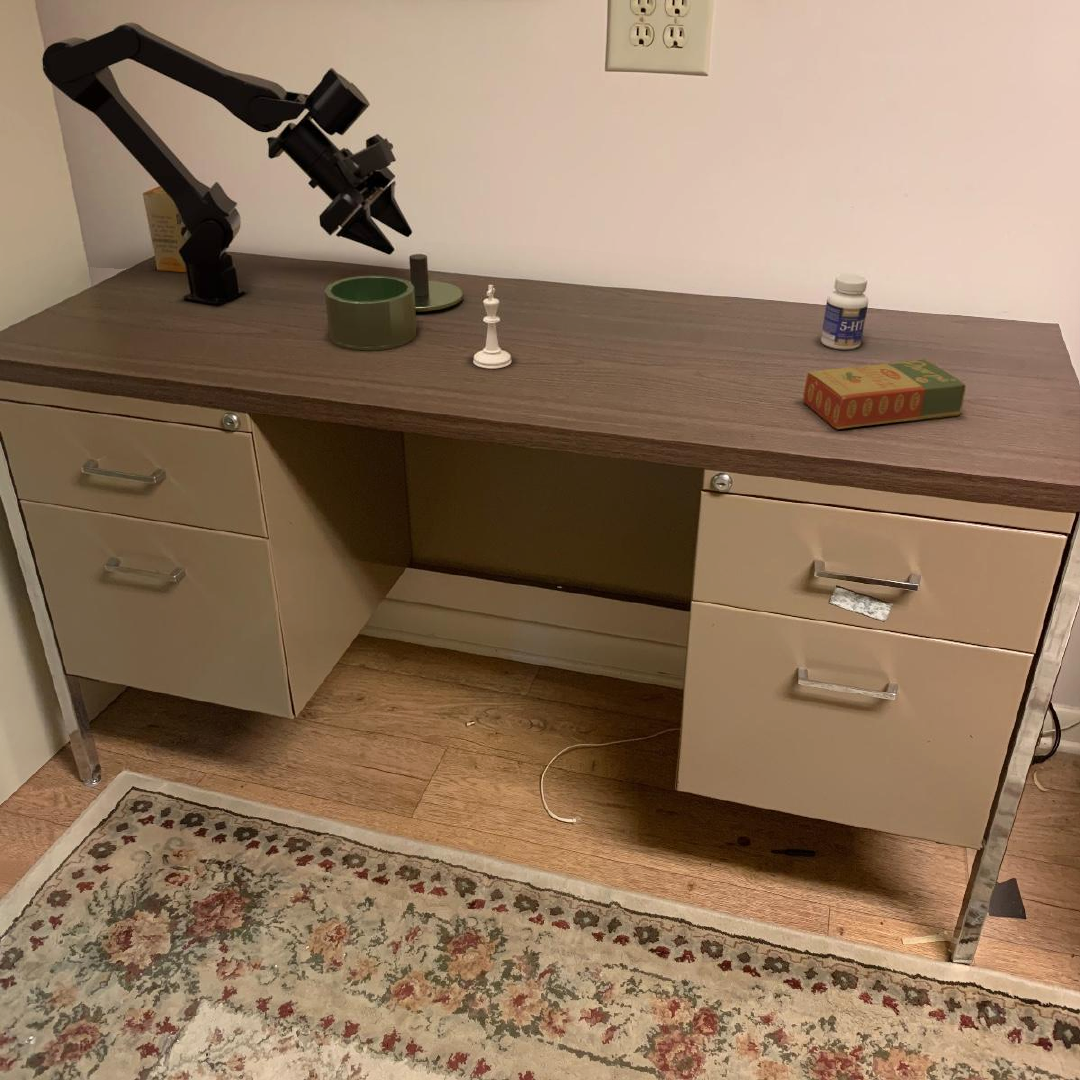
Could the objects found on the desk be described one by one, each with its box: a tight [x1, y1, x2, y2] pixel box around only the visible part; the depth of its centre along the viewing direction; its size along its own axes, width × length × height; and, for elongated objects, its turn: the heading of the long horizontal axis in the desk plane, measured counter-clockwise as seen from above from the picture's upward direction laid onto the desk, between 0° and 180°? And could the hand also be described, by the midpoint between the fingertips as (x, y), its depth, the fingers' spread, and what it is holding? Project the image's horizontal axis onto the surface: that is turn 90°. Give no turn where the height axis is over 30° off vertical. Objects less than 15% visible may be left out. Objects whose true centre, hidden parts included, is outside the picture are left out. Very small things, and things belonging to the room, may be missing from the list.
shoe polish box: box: [142, 185, 191, 273], centre depth 163 cm, size 5×5×12 cm
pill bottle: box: [820, 273, 869, 351], centre depth 136 cm, size 5×5×9 cm
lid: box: [408, 253, 463, 312], centre depth 151 cm, size 12×12×7 cm
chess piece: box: [472, 284, 513, 370], centre depth 130 cm, size 5×5×10 cm
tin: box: [324, 274, 417, 352], centre depth 139 cm, size 12×12×6 cm
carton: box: [802, 359, 966, 430], centre depth 119 cm, size 8×16×4 cm, turn 106°
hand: (401, 243), depth 148 cm, fingers open, 9 cm apart
